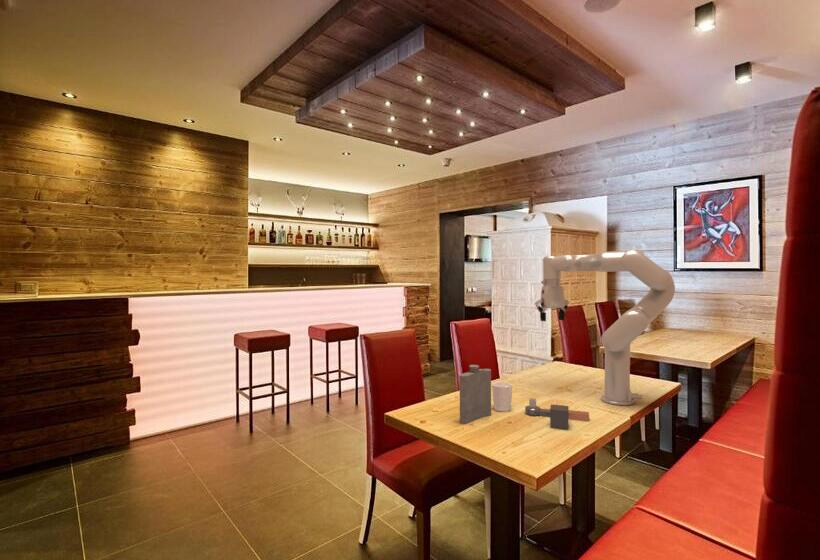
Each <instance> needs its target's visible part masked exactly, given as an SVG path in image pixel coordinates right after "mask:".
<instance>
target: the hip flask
mask: <svg viewBox="0 0 820 560" xmlns="http://www.w3.org/2000/svg"><path fill="white" fill-rule="evenodd" d="M468 368H469V371H467V372H464V373H461V374H459V379H458V380H459V423H460V424H462V425H467V424H470V423H472V422H474V421H477V420H479V419H482V418H487V417H490V416H492V370H491V368H480V365H478V364H470V365H469V367H468Z"/></svg>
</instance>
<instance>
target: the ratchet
mask: <svg viewBox="0 0 820 560" xmlns="http://www.w3.org/2000/svg"><path fill="white" fill-rule="evenodd" d="M528 400H529V401H528V405H526V406H525V408H524V411H525V413H524V414H525V415H526V416H529V417H543V418H550V408H549V409H548V408H541V407H540V406H538V405H537V398H530V397H529V399H528ZM571 420H572V421H578V422H579V421H581V422H588V421H589V422H590V411H581V410H569V421H571Z"/></svg>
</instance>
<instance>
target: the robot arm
mask: <svg viewBox="0 0 820 560" xmlns="http://www.w3.org/2000/svg"><path fill="white" fill-rule="evenodd" d="M561 272H567V273H569V272H601V273H603V272H605V273H607V272H611V273H612V272H629V273H630V274H631V275H632V276H634V277H635V278H636V279H637V280H639V281H640V282H642V283H643V285H645V286H647V288H650V289H649V291H648V293H646V295H644V296H643V298H641V300H640V301H638V302H637V303H636V304H635V305H634V306H633V307H632V308H630V309H629V310H627V311H625V312H624V313H623V314H622V315H621V316H620V317H619V318H618V319H617V320H615V321H614V323H612V324H611V325H610V326H609V327H608V328H607V329H606V330H605V331H604V332H603V333H602V335H601V338H600V339H601V345H602V346H603V348H604V394H602V395H601V396H600V400H601V401H602V402H603V403H604V402H605V403H607V404H610V405H614V406H615V405H616V406H617V405H618V406H631V405H633V404H634V403H635V399H636V400H643V399H644V396H643V394H639V393H633V392H632V391H631V385H630V384H631V371H630V370H631V368H630V367H631V343H633V341H635V340H636V339H637V338H638V337H639V336H640V335H641V334H642V333H644V332H645V331H646V330H647V329H648V327H649V326H650V324H651V322H652V321H653V320H655V319H656V318H657V317H658V316H659V315H660V314H661V313H663V311H664V310H665V309H666V308H667V307H668V306H670V303H672V301H673V299H674V296H675V293H676V292H675V291H676V286H675V281H674V279H673V276H672V274H671V273H670V272H669V271H668V270H667V269H664V268H662V267H661V266H660V265H658V264H657V263H656V262H655V261H653V260H652V259H650V258H649V257H648V256H646V255H645V253H644V252H643V251H641V250H638V249H629V250H616V251H615V250H614V251H613V250H612V251H600V252H597V253H591V254H577V255H576V254H575V255H573V254H563V255H547V256H543V259H542V280H541V283H540V284H542V287H541V291H540V299H539V300H537V301H536V302H534V306H535V307H536V309H537V310H538V312H539V317H540V318H539V319H540V321H541V322H547V313H546V311H547V309H558V310H559V311H558V320H559V321H565V312H566V310H567V309H568V306H569V303H570V302H569V301H568V300H567V299H565V292H564V287H563V285H561V284H562V282H561V281H562V280H561Z"/></svg>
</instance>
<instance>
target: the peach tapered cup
mask: <svg viewBox="0 0 820 560" xmlns="http://www.w3.org/2000/svg"><path fill="white" fill-rule="evenodd" d="M491 393H492V403H493V410H495V411H497V412H510V411H511V410H512V401H513V400H512V397H513V384H512V383H510V382H506V381H495V382H491Z"/></svg>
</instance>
